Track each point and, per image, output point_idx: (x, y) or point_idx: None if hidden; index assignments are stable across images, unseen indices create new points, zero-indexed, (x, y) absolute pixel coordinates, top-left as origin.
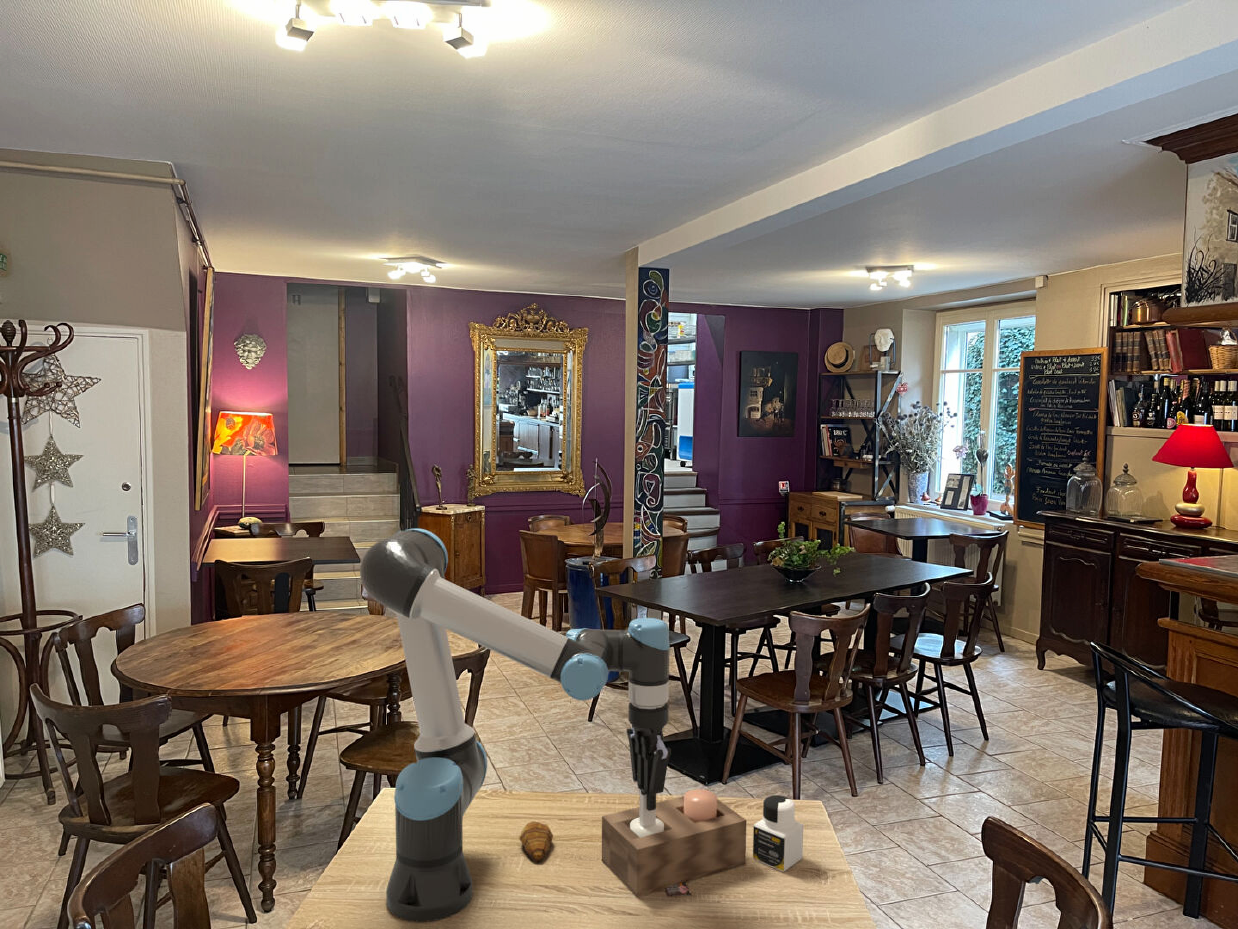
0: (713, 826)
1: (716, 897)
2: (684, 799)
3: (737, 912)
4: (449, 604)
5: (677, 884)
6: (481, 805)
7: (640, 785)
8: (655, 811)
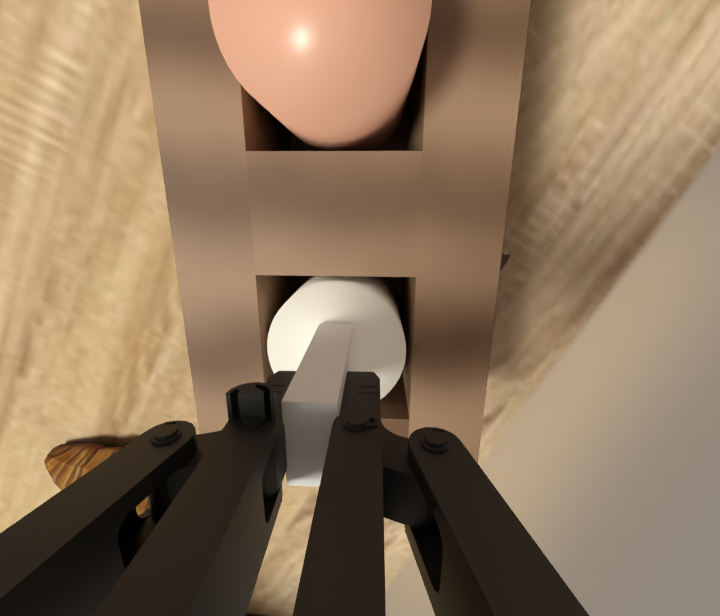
0: (500, 78)
1: (558, 199)
2: (291, 121)
3: (649, 189)
4: None
5: None
6: None
7: (277, 508)
8: (348, 345)
